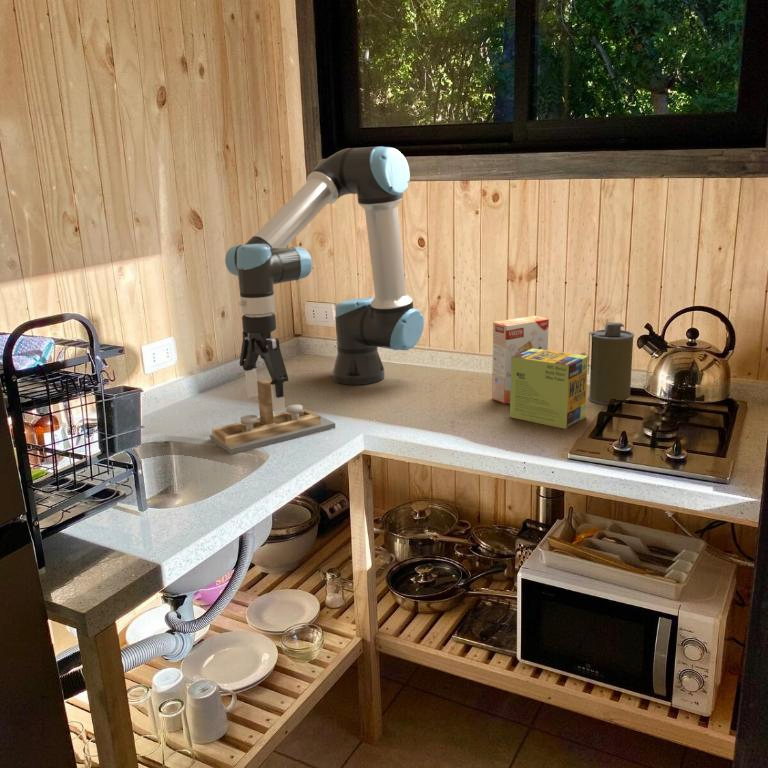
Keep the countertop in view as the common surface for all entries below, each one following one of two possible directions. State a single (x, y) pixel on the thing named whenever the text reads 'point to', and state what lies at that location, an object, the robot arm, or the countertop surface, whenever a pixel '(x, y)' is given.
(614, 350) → the canister
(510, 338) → the cracker box
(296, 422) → the ball track frame
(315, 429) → the board
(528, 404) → the protein box
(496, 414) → the countertop surface
